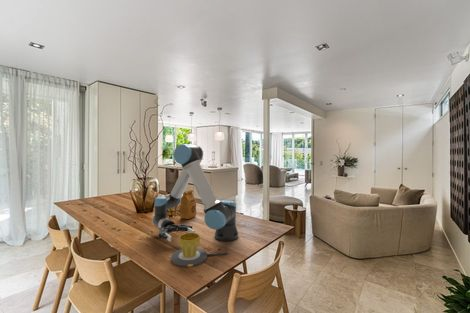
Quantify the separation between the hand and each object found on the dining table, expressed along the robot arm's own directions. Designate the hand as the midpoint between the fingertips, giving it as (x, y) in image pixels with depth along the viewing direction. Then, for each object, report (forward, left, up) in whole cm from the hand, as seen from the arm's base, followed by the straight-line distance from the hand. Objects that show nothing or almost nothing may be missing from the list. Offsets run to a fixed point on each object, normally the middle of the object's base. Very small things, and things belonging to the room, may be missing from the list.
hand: (182, 236), depth 123 cm
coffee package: (-6, -62, -9) cm, 63 cm away
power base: (-9, +7, -9) cm, 15 cm away
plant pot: (-3, +7, -8) cm, 11 cm away
